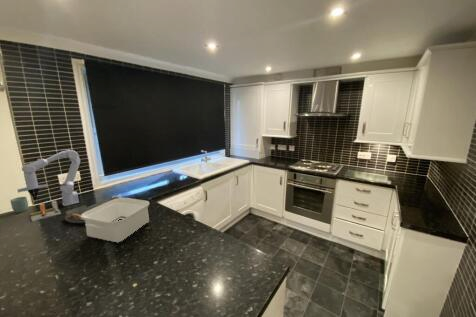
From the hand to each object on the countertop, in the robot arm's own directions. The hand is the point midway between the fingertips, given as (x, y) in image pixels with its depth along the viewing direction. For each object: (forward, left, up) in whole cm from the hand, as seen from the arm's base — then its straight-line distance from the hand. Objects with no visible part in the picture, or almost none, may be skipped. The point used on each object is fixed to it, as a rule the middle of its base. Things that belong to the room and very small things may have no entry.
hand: (35, 198), depth 139 cm
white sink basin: (-31, +71, -11) cm, 79 cm away
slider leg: (-3, +7, -10) cm, 13 cm away
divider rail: (-3, +7, -10) cm, 13 cm away
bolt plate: (-3, +12, -10) cm, 16 cm away
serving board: (-30, +33, -11) cm, 46 cm away
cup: (+8, -11, -11) cm, 17 cm away
